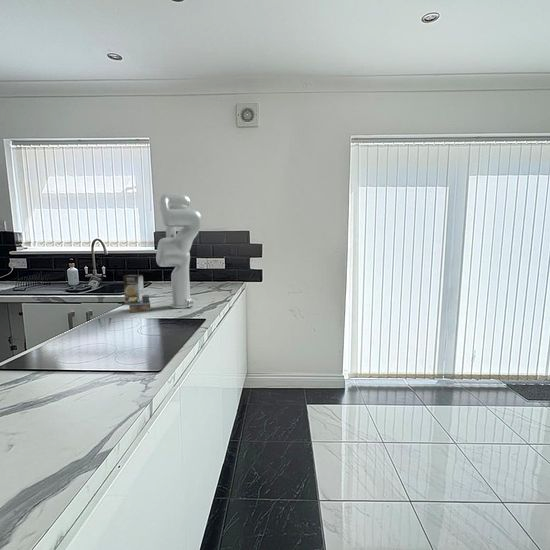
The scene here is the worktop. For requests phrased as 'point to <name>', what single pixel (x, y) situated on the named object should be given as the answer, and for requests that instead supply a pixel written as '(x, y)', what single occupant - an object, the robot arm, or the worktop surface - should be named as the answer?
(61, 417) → the worktop surface
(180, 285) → the robot arm
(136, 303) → the instrument plate
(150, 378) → the worktop surface
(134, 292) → the coffee box
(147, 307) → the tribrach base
